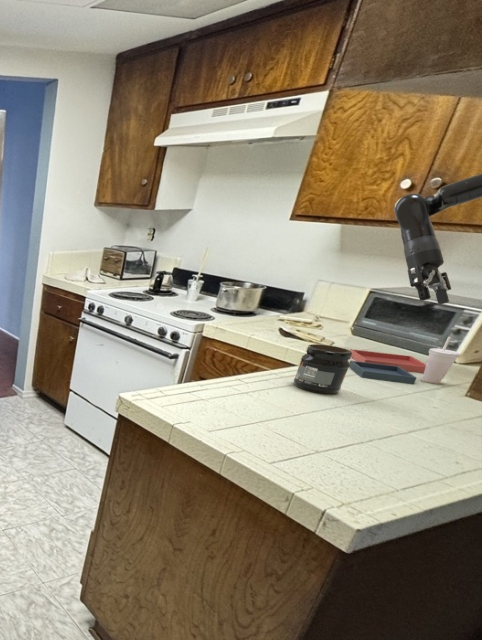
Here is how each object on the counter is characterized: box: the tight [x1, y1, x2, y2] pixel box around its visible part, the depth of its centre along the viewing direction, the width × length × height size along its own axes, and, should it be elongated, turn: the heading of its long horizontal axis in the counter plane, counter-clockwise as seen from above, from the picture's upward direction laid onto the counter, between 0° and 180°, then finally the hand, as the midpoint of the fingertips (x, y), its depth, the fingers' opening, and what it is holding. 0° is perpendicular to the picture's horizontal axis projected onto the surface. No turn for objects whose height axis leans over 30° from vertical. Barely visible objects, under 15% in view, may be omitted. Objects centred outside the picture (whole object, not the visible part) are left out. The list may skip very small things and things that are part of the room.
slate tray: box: [349, 360, 417, 385], centre depth 148 cm, size 12×12×2 cm
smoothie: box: [421, 336, 461, 385], centre depth 141 cm, size 6×6×14 cm
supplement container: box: [293, 343, 352, 395], centre depth 134 cm, size 10×10×12 cm
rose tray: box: [350, 349, 427, 374], centre depth 159 cm, size 16×14×2 cm
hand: (434, 301), depth 145 cm, fingers open, 8 cm apart
